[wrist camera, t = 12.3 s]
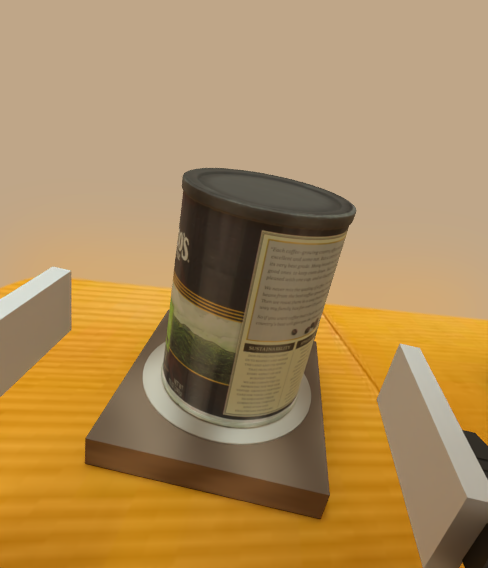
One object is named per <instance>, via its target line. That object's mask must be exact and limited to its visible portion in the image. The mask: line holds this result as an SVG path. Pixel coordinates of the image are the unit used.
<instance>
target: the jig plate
mask: <svg viewBox="0 0 488 568" xmlns="http://www.w3.org/2000/svg"><path fill="white" fill-rule="evenodd" d="M169 311H170V310H168V311H167V313H166V314H165V316H164V318H163V319H162V321H161V322H160V324H159V325H158V327H157V328H156V330H155V331H154V333H153V335H152V336H151V338H150V339H149V341H148V342H147V344H146V345H145V347H144V349H143V350H142V352H141V353H140V355H139V356H138V358H137V359H136V361H135V362H134V364H133V366H132V367H131V369H130V370H129V372H128V373H127V375H126V376H125V378H124V380H123V381H122V383H121V384H120V386H119V387H118V389H117V390H116V392H115V393H114V395H113V397H112V398H111V400H110V401H109V403H108V404H107V406H106V407H105V409H104V411H103V412H102V414H101V415H100V417H99V418H98V420H97V421H96V423H95V424H94V426H93V428H92V429H91V431H90V432H89V434H88V435H87V437H86V440H85V463H86V464H90V465H94V466H98V467H103V468H107V469H111V470H115V471H120V472H124V473H128V474H132V475H136V476H141V477H145V478H149V479H153V480H158V481H162V482H166V483H170V484H175V485H179V486H183V487H187V488H192V489H196V490H200V491H204V492H209V493H213V494H217V495H221V496H226V497H230V498H234V499H238V500H242V501H247V502H251V503H255V504H259V505H264V506H268V507H272V508H276V509H281V510H285V511H289V512H293V513H298V514H302V515H306V516H310V517H315V518H319V519H321V516H322V514H323V511H324V508H325V506H326V503H327V501H328V498H329V496H330V493H329V482H328V471H327V459H326V448H325V437H324V425H323V414H322V402H321V391H320V380H319V368H318V357H317V346H316V342H315V341H313V345H312V348H311V351H310V354H309V358H308V361H307V364H306V367H305V371H304V374H303V377H302V380H301V384H300V387H299V393H298V398H297V401H296V403H295V405H294V407H293V408H292V409H291V411H290V412H289V413H287V414H286V415H285V416H284V417H283V418H281V419H280V420H278V421H275V422H273V423H270V424H267V425H264V426H259V427H253V428H233V427H224V426H219V425H216V424H212V423H209V422H206V421H204V420H201V419H199V418H197V417H194V416H193V415H191V414H189V413H188V412H186V411H185V410H183V409H182V408H181V407H180V406H179V405H177V404H176V403H175V402H174V401H173V400H172V399H171V398H170V396H169V395H168V393H167V392H166V390H165V388H164V385H163V382H162V378H161V367H162V364H163V360H164V352H165V344H166V335H167V327H168V319H169ZM316 332H317V331H316ZM315 336H316V335H315ZM314 339H315V338H314Z"/></svg>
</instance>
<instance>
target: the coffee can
mask: <svg viewBox="0 0 488 568" xmlns="http://www.w3.org/2000/svg"><path fill="white" fill-rule="evenodd" d="M182 188H183V199H182V208H181V216H180V223H179V224H180V225H179V234H178V241H177V250H176V259H175V268H174V276H173V285H172V293H171V302H170V311H169V319H168V327H167V335H166V344H165V352H164V360H163V364H162V367H161V378H162V382H163V385H164V388H165V390H166V392H167V393H168V395H169V396H170V398H171V399H172V400H173V401H174V402H175V403H176V404H177V405H179V406H180V407H181V408H182V409H183V410H185V411H186V412H188V413H189V414H191V415H193V416H194V417H197V418H199V419H201V420H204V421H206V422H209V423H212V424H216V425H219V426H224V427H233V428H253V427H259V426H264V425H267V424H270V423H273V422H275V421H278V420H280V419H281V418H283V417H284V416H285V415H286V414H287V413H289V412H290V411H291V409H292V408H293V407H294V405H295V403H296V401H297V398H298V393H299V387H300V384H301V380H302V377H303V374H304V371H305V367H306V364H307V361H308V358H309V354H310V351H311V348H312V345H313V341H314V338H315V335H316V331H317V329H318V326H319V322H320V318H321V315H322V312H323V309H324V305H325V302H326V298H327V296H328V292H329V289H330V286H331V282H332V279H333V276H334V273H335V269H336V266H337V263H338V259H339V257H340V253H341V250H342V247H343V243H344V241H345V237H346V234H347V231H348V227H349V225H350V224H351V223H352V221H353V219H354V216H355V213H356V208H355V206H354V205H353V204H351V203H350V202H349V201H347V200H346V199H344V198H342V197H341V196H338V195H336V194H334V193H332V192H330V191H327V190H324V189H322V188H319V187H315V186H313V185H310V184H306V183H303V182H298V181H295V180H292V179H287V178H283V177H278V176H274V175H268V174H264V173H257V172H251V171H244V170H234V169H224V168H202V169H194V170H190V171H188V172H186V173H184V175H183V180H182Z"/></svg>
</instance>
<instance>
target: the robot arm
mask: <svg viewBox="0 0 488 568" xmlns="http://www.w3.org/2000/svg"><path fill="white" fill-rule="evenodd" d="M70 330H71V271H70V270H66V269H61V268H57V267H51V268H50V269H48V270H47V271H45V272H43V273H42V274H40V275H38V276H37V277H35V278H34V279H32V280H30V281H29V282H27V283H26V284H24V285H22V286H21V287H19V288H18V289H16V290H14V291H13V292H11V293H10V294H8V295H6V296H5V297H3V298H2V299H0V397H1V396H2V395H3V394H4V393H5V392H6V391H7V390H8V389H9V388H10V387H11V386H12V385H14V384H15V383H16V382H17V381H18V380H19V379H20V378H21V377H22V376H23V375H24V374H25V373H26V372H27V371H28V370H29V369H30V368H31V367H32V366H34V365H35V364H36V363H37V362H38V361H39V360H40V359H41V358H42V357H43V356H44V355H45V354H46V353H47V352H48V351H49V350H50V349H51V348H52V347H53V346H55V345H56V344H57V343H58V342H59V341H60V340H61V339H62V338H63V337H64V336H65V335H66V334H67V333H68V332H69V331H70ZM377 402H378V405H379V409H380V413H381V416H382V420H383V424H384V427H385V431H386V435H387V438H388V442H389V446H390V449H391V453H392V456H393V460H394V464H395V467H396V471H397V475H398V478H399V482H400V486H401V489H402V493H403V497H404V500H405V504H406V507H407V511H408V515H409V518H410V522H411V526H412V529H413V533H414V537H415V540H416V544H417V548H418V551H419V555H420V559H421V562H422V566H423V568H459V567H460V565H461V564H462V562H463V564H464V566H465V568H488V446H487V445H486V444H485V443H484V442H483V441H482V440H481V439H480V438H479V437H478V436H477V435H476V434H475V433H473V432H469V431H464V430H462V429H461V427H460V425H459V423H458V421H457V420H456V418H455V416H454V414H453V412H452V410H451V408H450V406H449V404H448V402H447V400H446V398H445V396H444V394H443V392H442V390H441V389H440V387H439V385H438V383H437V381H436V379H435V377H434V375H433V373H432V371H431V369H430V367H429V365H428V363H427V361H426V360H425V358H424V356H423V354H422V352H421V350H420V348H417V347H413V346H408V345H404V344H399V346H398V349H397V351H396V354H395V356H394V359H393V361H392V364H391V366H390V368H389V371H388V373H387V376H386V378H385V381H384V383H383V386H382V388H381V390H380V393H379V395H378V398H377Z"/></svg>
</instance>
